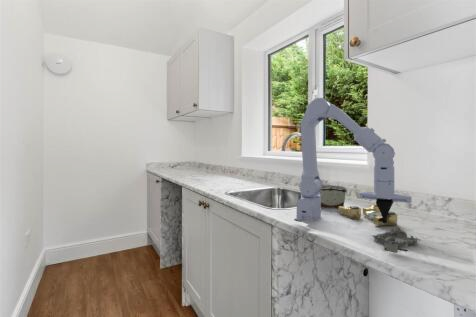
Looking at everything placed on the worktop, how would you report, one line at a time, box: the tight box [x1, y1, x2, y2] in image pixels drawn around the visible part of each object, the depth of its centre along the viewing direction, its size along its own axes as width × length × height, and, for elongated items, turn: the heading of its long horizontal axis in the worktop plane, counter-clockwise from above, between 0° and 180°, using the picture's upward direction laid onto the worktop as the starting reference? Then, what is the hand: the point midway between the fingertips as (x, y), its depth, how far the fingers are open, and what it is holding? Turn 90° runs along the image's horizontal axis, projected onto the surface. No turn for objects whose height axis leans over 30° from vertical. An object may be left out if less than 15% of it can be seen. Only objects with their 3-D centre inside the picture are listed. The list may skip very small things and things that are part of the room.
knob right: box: [373, 210, 399, 227], centre depth 84 cm, size 8×4×4 cm, turn 111°
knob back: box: [362, 203, 382, 217], centre depth 95 cm, size 8×4×4 cm, turn 108°
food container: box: [319, 184, 348, 210], centre depth 109 cm, size 12×6×10 cm, turn 74°
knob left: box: [337, 205, 362, 220], centre depth 94 cm, size 8×4×4 cm, turn 29°
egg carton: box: [371, 227, 421, 254], centre depth 69 cm, size 11×8×4 cm
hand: (384, 222), depth 82 cm, fingers closed, pressing on knob right
